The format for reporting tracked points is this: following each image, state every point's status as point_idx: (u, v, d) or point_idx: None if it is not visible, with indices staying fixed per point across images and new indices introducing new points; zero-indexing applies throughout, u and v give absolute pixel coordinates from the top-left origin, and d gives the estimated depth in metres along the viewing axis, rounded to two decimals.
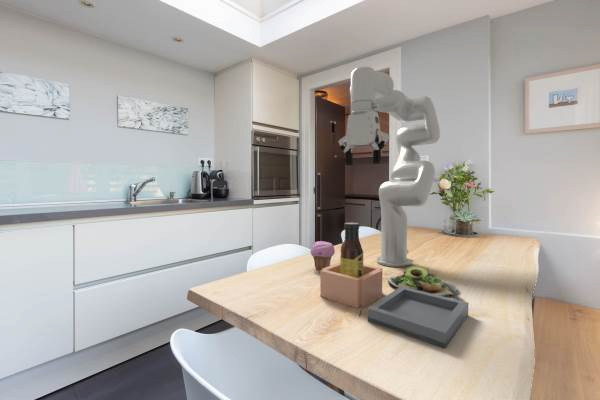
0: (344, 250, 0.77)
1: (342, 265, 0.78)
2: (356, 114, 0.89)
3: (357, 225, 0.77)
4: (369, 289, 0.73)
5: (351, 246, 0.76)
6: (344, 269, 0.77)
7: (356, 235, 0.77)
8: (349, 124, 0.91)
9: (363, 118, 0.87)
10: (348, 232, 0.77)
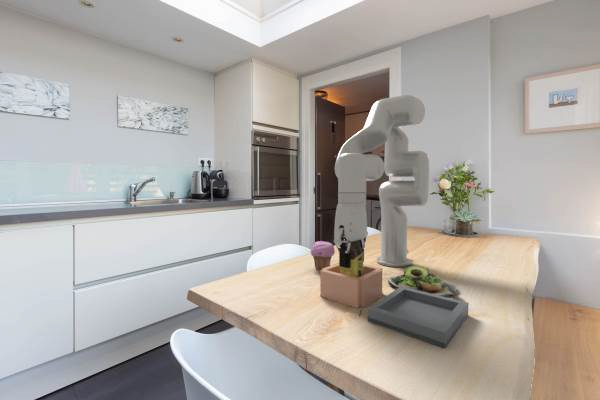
0: None
1: None
2: (358, 206, 0.76)
3: None
4: (369, 289, 0.73)
5: (351, 246, 0.76)
6: (344, 269, 0.77)
7: None
8: (352, 217, 0.74)
9: (363, 211, 0.78)
10: None
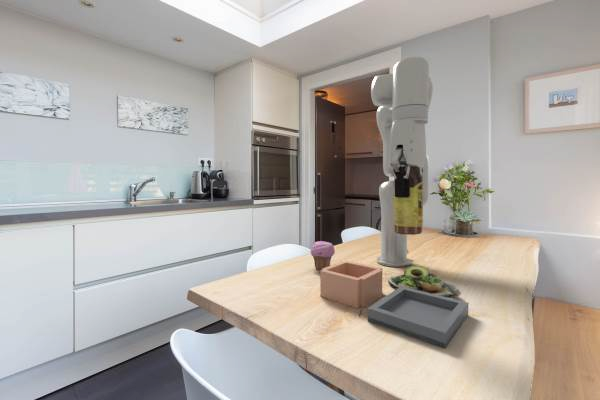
0: None
1: None
2: (419, 123, 0.62)
3: None
4: (369, 289, 0.73)
5: (410, 171, 0.63)
6: (400, 200, 0.64)
7: None
8: (413, 134, 0.61)
9: (423, 131, 0.64)
10: None
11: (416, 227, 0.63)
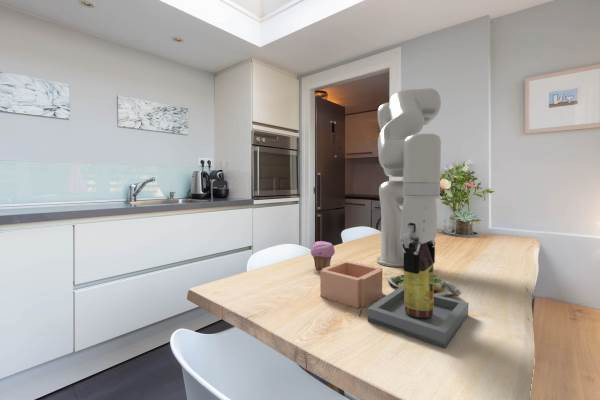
0: None
1: (408, 278, 0.64)
2: (431, 199, 0.61)
3: None
4: (369, 289, 0.73)
5: (421, 254, 0.62)
6: (411, 282, 0.63)
7: None
8: (425, 212, 0.60)
9: (434, 206, 0.63)
10: None
11: (427, 311, 0.62)
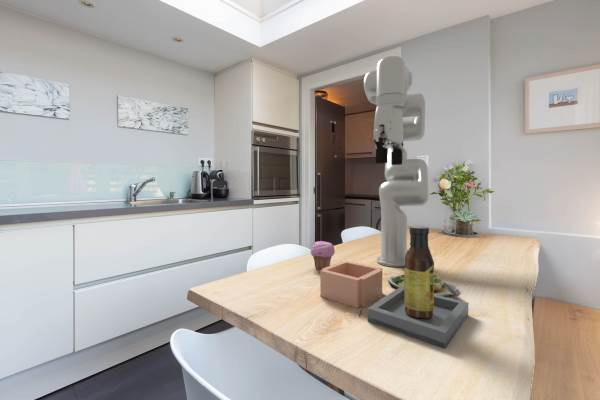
0: (412, 260, 0.63)
1: (408, 278, 0.63)
2: (397, 108, 0.80)
3: (427, 229, 0.63)
4: (369, 289, 0.73)
5: (421, 255, 0.62)
6: (412, 283, 0.63)
7: (426, 241, 0.63)
8: (392, 116, 0.78)
9: (400, 115, 0.81)
10: (416, 238, 0.63)
11: (427, 311, 0.62)
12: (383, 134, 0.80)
